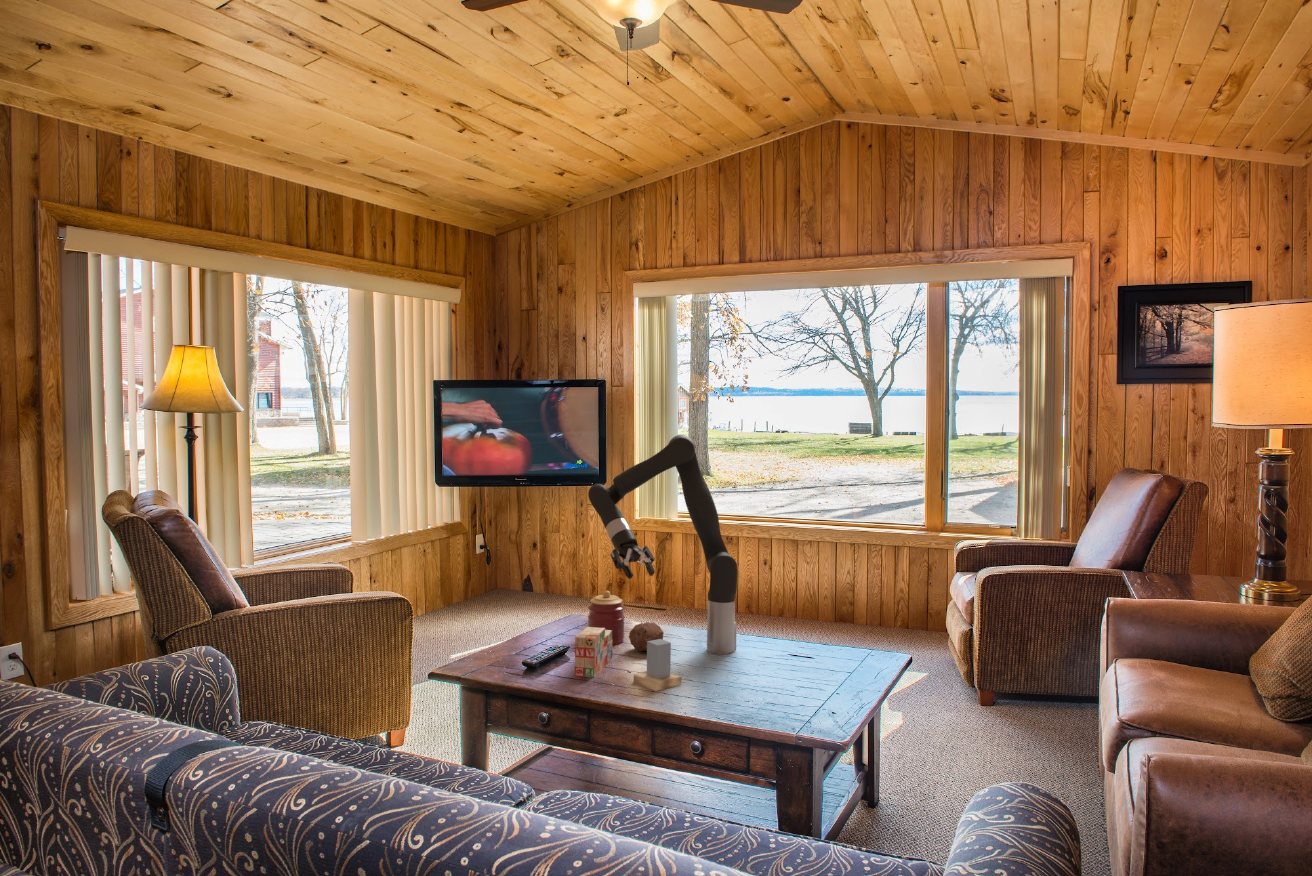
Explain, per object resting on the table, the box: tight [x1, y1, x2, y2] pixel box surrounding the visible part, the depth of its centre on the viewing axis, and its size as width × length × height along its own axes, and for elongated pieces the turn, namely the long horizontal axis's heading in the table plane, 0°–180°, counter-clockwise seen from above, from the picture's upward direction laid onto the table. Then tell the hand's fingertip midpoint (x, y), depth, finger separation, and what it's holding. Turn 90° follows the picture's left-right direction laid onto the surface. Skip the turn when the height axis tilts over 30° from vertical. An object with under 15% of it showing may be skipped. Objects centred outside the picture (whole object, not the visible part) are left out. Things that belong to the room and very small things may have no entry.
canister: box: [587, 590, 626, 646], centre depth 292 cm, size 13×13×18 cm
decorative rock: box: [628, 621, 664, 652], centre depth 280 cm, size 13×11×10 cm
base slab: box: [633, 670, 682, 692], centre depth 247 cm, size 10×10×3 cm
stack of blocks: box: [574, 626, 613, 679], centre depth 261 cm, size 21×6×12 cm, turn 168°
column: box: [646, 639, 672, 679], centre depth 246 cm, size 5×5×10 cm
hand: (642, 575), depth 264 cm, fingers open, 8 cm apart
